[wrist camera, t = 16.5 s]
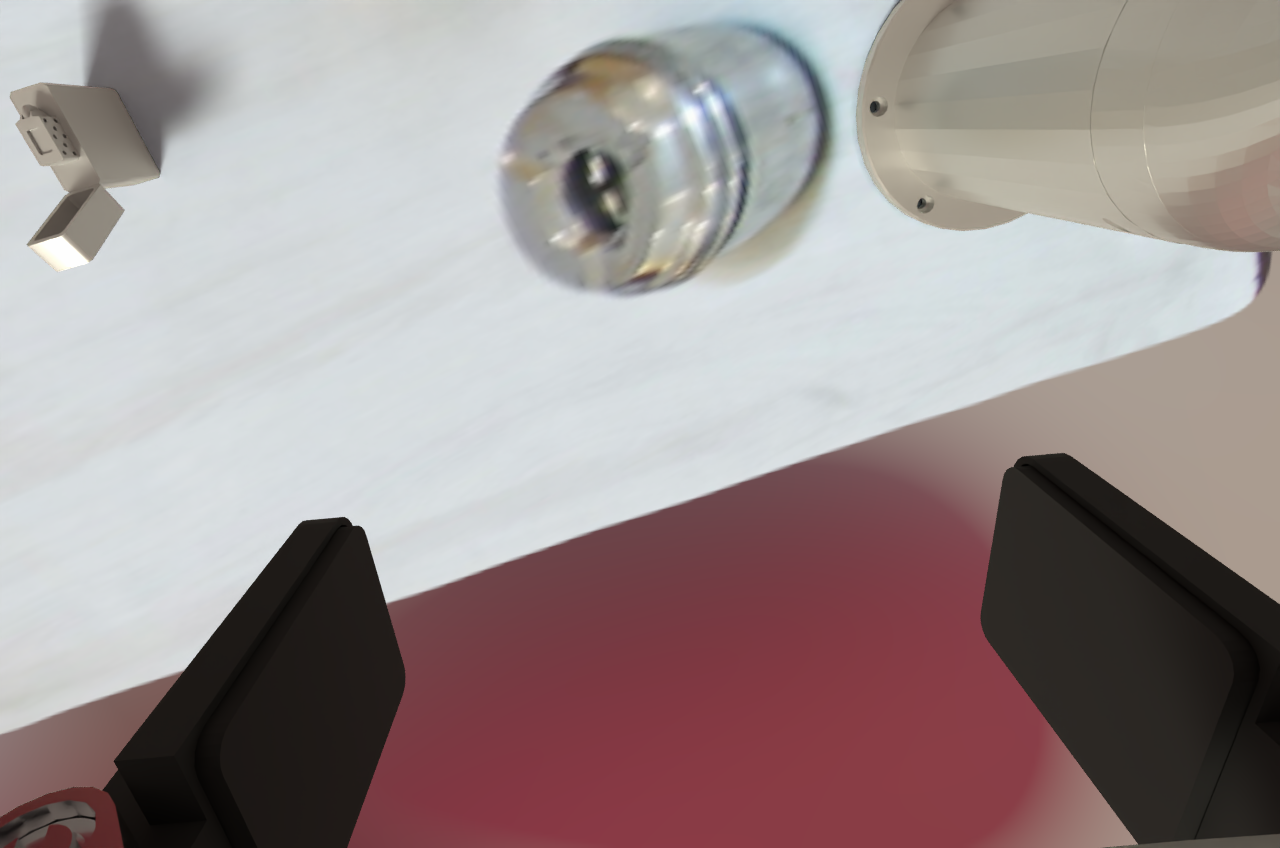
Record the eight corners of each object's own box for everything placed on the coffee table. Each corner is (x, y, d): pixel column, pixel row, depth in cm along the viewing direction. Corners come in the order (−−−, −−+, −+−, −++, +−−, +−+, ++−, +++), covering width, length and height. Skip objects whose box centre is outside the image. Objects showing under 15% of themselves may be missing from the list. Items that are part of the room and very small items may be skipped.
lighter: (81, 97, 32) (-77, 88, 24) (114, 87, 32) (-35, 74, 24) (162, 244, 35) (42, 275, 27) (193, 235, 34) (81, 264, 27)
